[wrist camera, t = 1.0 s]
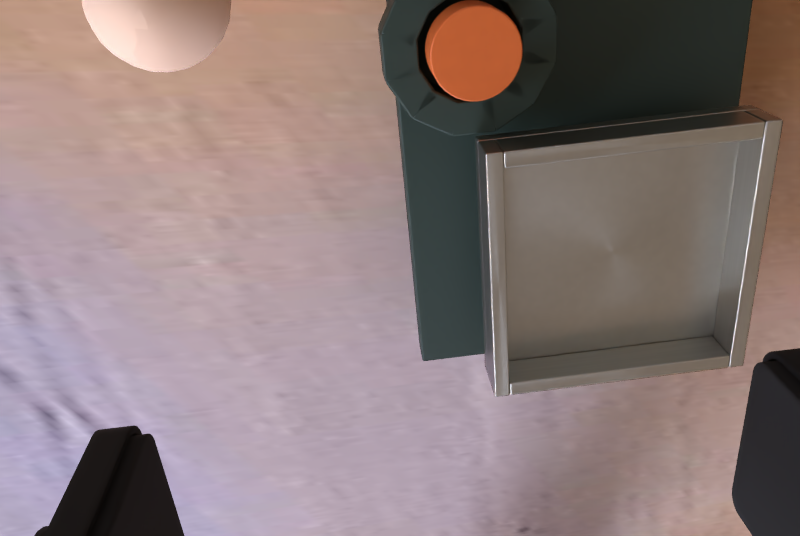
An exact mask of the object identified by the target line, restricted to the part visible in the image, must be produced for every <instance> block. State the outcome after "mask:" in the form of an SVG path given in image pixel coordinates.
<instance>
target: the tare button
mask: <svg viewBox="0 0 800 536" xmlns="http://www.w3.org/2000/svg"><path fill="white" fill-rule="evenodd" d="M522 53H523V47H522V40H521V36H520V33H519V30H518V28H517V26H516V25H515V23H514V22H513V21H512V20H511V18H510V17H509V16H508V15H506V14H505V13H504V12H502V11H501V10H499V9H497V8H495V7H494V6H492V5H490V4H488V3H486V2H483V1H479V0H464V1H460V2H457V3H454V4H452V5H450V6H448V7H447V8H445V9H444V10H443V11H442V12H440V13H439V15H438V16H437V17H436V18H435V19H434V21H433V22H432V24H431V26H430V28H429V30H428V33H427V36H426V41H425V56H426V60H427V64H428V66H429V69H430V70H431V72H432V74H433V76H434V77H435V79H436V81H437V82H438V84H439V85H440V86H441V88H442V89H444V90H445V91H446V92H447V93H448V94H450V95H451V96H453V97H455V98H457V99H460V100H464V101H472V102H473V101H483V100H486V99H490V98H492V97H494V96H496V95H498V94H499V93H501V92H502V91H503V90H505V89H506V88H507V87H508V86H509V85H510V83H511V82H512V81H513V80H514V78H515V76H516V75H517V72H518V70H519V68H520V65H521V61H522Z"/></svg>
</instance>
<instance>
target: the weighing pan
mask: <svg viewBox="0 0 800 536" xmlns="http://www.w3.org/2000/svg"><path fill="white" fill-rule="evenodd" d="M782 124H783V120H782V119H780V118H778V117H776V116H774V115H771V114H769V113H767V112H765V111H763V110H761V109H758V108H756V107H754V106H752V105H743V106H734V107H725V108H717V109H708V110H699V111H691V112H682V113H673V114H665V115H656V116H647V117H639V118H630V119H621V120H613V121H604V122H595V123H587V124H578V125H569V126H561V127H552V128H543V129H535V130H526V131H517V132H509V133H500V134H491V135H483V136H476V137H475V151H476V174H477V196H478V218H479V240H480V262H481V284H482V306H483V328H484V350H485V367H486V370H487V373H488V377H489V380H490V383H491V386H492V389H493V392H494V395H495V397H499V396H507V395H509V394H511V395H514V394H522V393H530V392H538V391H546V390H553V389H561V388H569V387H577V386H585V385H593V384H601V383H609V382H617V381H625V380H633V379H641V378H649V377H657V376H665V375H673V374H681V373H689V372H697V371H705V370H713V369H721V368H727V367H728V366H729V367H736V366H742V365H743V363H744V356H745V350H746V344H747V338H748V332H749V326H750V320H751V314H752V307H753V301H754V295H755V289H756V283H757V277H758V271H759V265H760V259H761V252H762V246H763V240H764V234H765V228H766V222H767V216H768V210H769V204H770V197H771V191H772V185H773V179H774V173H775V167H776V161H777V155H778V148H779V142H780V136H781V130H782Z"/></svg>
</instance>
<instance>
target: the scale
mask: <svg viewBox="0 0 800 536" xmlns="http://www.w3.org/2000/svg"><path fill="white" fill-rule="evenodd" d="M460 1H464V0H386V2H387V7H386V9H385V12H384V14H383V16H382V19H381V21H380V23H379V28H378V32H379V42H380V52H381V61H382V71H383V75H384V78H385V81H386V83H387V85H388V86H389V88H390V89H391V91H392V92H393V93H394V95H395V96H396V105H397V116H398V126H399V136H400V147H401V157H402V167H403V178H404V188H405V198H406V209H407V219H408V229H409V240H410V250H411V260H412V271H413V281H414V291H415V302H416V312H417V322H418V333H419V343H420V349H421V354H422V359H423V361H428V360H436V359H444V358H452V357H460V356H469V355H477V354H485V350H484V328H483V306H482V284H481V262H480V240H479V218H478V196H477V174H476V151H475V137H476V136H483V135H491V134H500V133H509V132H517V131H526V130H535V129H543V128H552V127H561V126H569V125H578V124H587V123H595V122H604V121H613V120H621V119H630V118H639V117H647V116H656V115H665V114H673V113H682V112H691V111H699V110H708V109H717V108H725V107H734V106H739V99H740V92H741V84H742V76H743V69H744V61H745V54H746V46H747V39H748V31H749V23H750V16H751V8H752V1H753V0H479V1H483V2H486V3H488V4H490V5H492V6H494V7H495V8H497V9H499V10H501V11H502V12H504V13H505V14H506V15H508V16H509V17H510V18H511V20H512V21H513V22H514V23H515V25H516V26H517V28H518V30H519V33H520V36H521V40H522V47H523V53H522V61H521V65H520V68H519V70H518V72H517V75H516V76H515V78H514V80H513V81H512V82H511V83H510V85H509V86H508V87H507V88H506V89H505V90H503V91H502V92H501V93H499V94H498V95H496V96H494V97H492V98H490V99H486V100H483V101H473V102H472V101H464V100H460V99H457V98H455V97H453V96H451V95H450V94H448V93H447V92H446V91H445V90H444V89H442V88H441V86H440V85H439V84H438V82H437V81H436V79H435V77H434V76H433V74H432V72H431V70H430V69H429V66H428V64H427V60H426V56H425V41H426V36H427V33H428V30H429V28H430V26H431V24H432V22H433V21H434V19H435V18H436V17H437V16H438V15H439V13H440V12H442V11H443V10H444V9H445V8H447V7H448V6H450V5H452V4H454V3H457V2H460Z"/></svg>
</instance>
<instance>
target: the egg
mask: <svg viewBox="0 0 800 536" xmlns="http://www.w3.org/2000/svg"><path fill="white" fill-rule="evenodd" d="M82 6H83V10H84V13H85V16H86V18H87V20H88V22H89V24H90V26H91V28H92V30H93V31H94V33H95V34H96V36H97V37H98V39H99V40H100V42H101V43H102V44H103V45H104V46H105V47H106V48H107V49H108V50H109V51H110V52H112V53H113V54H114V55H115V56H116V57H118V58H120V59H122V60H123V61H125V62H127V63H129V64H131V65H132V66H134V67H138V68H141V69H145V70H148V71H151V72H173V71H178V70H183V69H187V68H189V67H191V66H193V65H195V64H197V63H199V62H201V61H202V60H204V59H205V58H206V57H208V56H209V55H210V54H211V53H212V51H213V50H214V49H215V48H216V47H217V45H218V44H219V43H220V41H221V40H222V39H223V37H224V34H225V31H226V29H227V26H228V24H229V19H230V8H231V0H82Z"/></svg>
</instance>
